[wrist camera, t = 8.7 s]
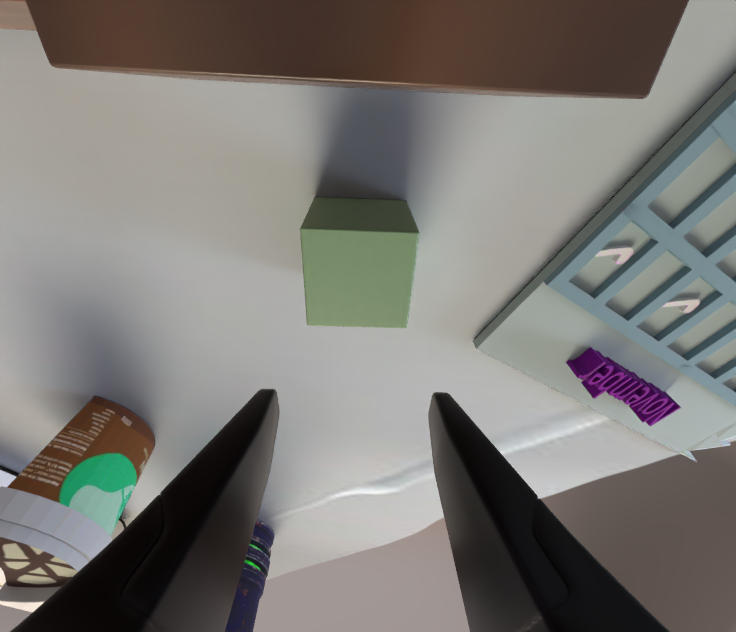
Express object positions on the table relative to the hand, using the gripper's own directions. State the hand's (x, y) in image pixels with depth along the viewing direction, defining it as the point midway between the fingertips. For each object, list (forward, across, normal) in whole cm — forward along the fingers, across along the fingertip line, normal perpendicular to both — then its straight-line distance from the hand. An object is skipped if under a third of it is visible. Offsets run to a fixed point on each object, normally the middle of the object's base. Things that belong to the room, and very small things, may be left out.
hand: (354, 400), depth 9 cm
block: (+12, 0, 0) cm, 12 cm away
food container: (+12, +19, +19) cm, 30 cm away
